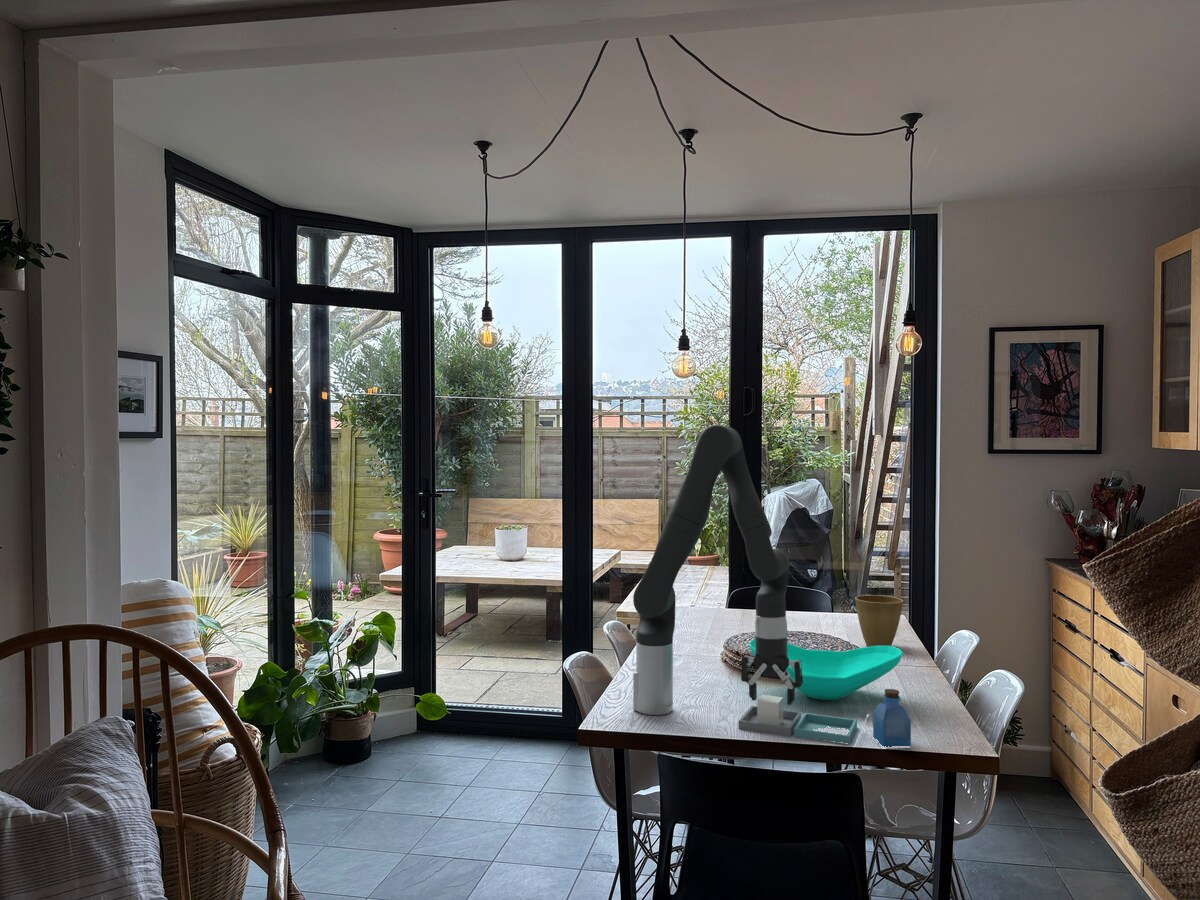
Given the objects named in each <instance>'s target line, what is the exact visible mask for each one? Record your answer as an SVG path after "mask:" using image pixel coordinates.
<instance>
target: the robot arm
mask: <svg viewBox="0 0 1200 900" xmlns="http://www.w3.org/2000/svg"><path fill="white" fill-rule="evenodd" d="M721 473H722V475H723V478H724V480H725V482H726V486H727V488H728V492H729V497H730V502H731V507H732V512H733V515H734V517H735V518H734V519H735V521H736V523H737V525H738V529H739V531H740V533H741V537H742V538H743V541H744V547H745V552H746V556H747V561H748V565H749V568H750V570H751V572H752V574H753V575H754V576H755V578H757V580H760V587H759V590H758V591H757V593H756V595H755V621H754V639H755V656H750V655H749V654H745V655H744V656H743V657H742V658H741V675H740V680H741V681H742V682H744V683H746V684H747V685H748V695H749V698H751V701H756V700H757V698H758V697H757V695H758V691H757V689H758V688H757V686H758V685H757V682H756V681H758V680H759V678H760V677H761V675H762V676H763V677H764V678H769V677H771V678H775V679H778V678H780V680H781V681H782V682H783V683H784V684H785V685H786V686H787V689H786V690H787V695H786V696H787V703H786V704H787V705H788V706H789V705H790V706H792V703H794V702H795V699H796V692H795V689H796V688H797V687H798V688H799V687H801V685H802V684H803V677H802V664H801V660H797V661H789V659H788V655H787V643H788V633H789V632H788V630H789V629H788V622H787V616H786V615H787V614H786V611H787V605H786V603H787V601H786V594H787V589H788V583H789V577H790V564H789V559H788V557H787V555H786V554H785V553H784V551H782V550H781V549H778V548H773V545H772V542H771V536H772V534H773V532H772V528H771V525H770V522H769V521H768V518H767V516H766V513H765V510H764V508H763V506H762V503H761V501H760V498H759V495H758V493H757V491H756V488H755V486H754V483H753V480H752V477H751V474H750V471H749V467H748V463H747V460H746V455H745V451H744V446H743V442H742V438H741V436H740V433H738V430H736V429H734V428H732V427H731V426H727V425H723V424H716V423H715V424H712V425H709V426H707V427H705V428H704V430H702V431H701V433H700V435H699V437H698V439H697V442H696V445H695V448H694V451H693V455H692V459H691V461H690V465H689V468H688V471H687V473H686V476H685V478H684V480H683V482H682V484H681V486H680V488H679V490H678V493H677V495H676V498H675V500H674V502H673V503H672V506H671V508H670V510H669V513H668V514H667V518H666V520H665V522H664V525H663V528H662V531H661V533H660V536H659V538H658V541H657V544H656V546H655V550H654V553H653V555H652V558H651V561H650V562H649V565H648V567H646V569H645V572H644V573H643V576H642V578H641V579H640V580H639V582H638V584H637V586H636V588H635V590H634V592H633V595H632V596H633V597H632V599H633V600H632V601H633V602H632V603H633V606H634V609H635V610H636V612H637V614H638V615H639V621H638V627H637V629H636V634H635V635H636V636H635V637H636V639H635V642H636V646H635V648H636V650H635V651H636V654H635V655H636V656H635V657H636V660H635V661H636V665H635V666H636V668H635V669H636V670H635V671H634V672H633V675H632V676H633V677H632V678H633V683H632V684H633V685H632V686H633V688H632V689H633V692H632V694H633V696H632V697H633V699H632V700H633V701H632V702H633V707H632V710H633V711H636V712H639V713H640V714H644V715H648V716H662V715H667V714H670V713H672V712H673V711H672V710H674V708H673V707H674V699H673V698H674V697H673V696H674V686H673V685H674V677H673V676H674V668H673V667H674V665H673V664H674V645H673V644H674V632H675V629H676V628H675V626H676V592H675V588H674V584H675V581H676V578H677V576H678V574H679V572H680V571H681V569H682V566H683V565H684V563H685V562H686V561H687V559H688V558H689V556H690V555H691V553H692V551H693V550H694V548H695V546H696V545H697V543H698V541H699V539H700V537H701V535H702V533H703V529H705V525H706V524H707V520H708V518H709V516H710V515H709V514H710V510H711V504H712V498H713V497H712V496H713V490H714V487H715V483H716V481H717V478H718V476H719V475H720V474H721ZM752 663H753V664H754V665H755V667H756V671H755V673H754V674H753V675H752V676H750V674H749V673H750V666H751V665H752ZM789 665H790V666H791V667H792V669H793V670H795V681H793V680H792V678H791V677H790V674H789V673H788V672H787V670H786V669H787V667H788V666H789ZM671 711H672V712H671Z"/></svg>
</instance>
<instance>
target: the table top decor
mask: <svg viewBox="0 0 1200 900" xmlns="http://www.w3.org/2000/svg"><path fill="white" fill-rule="evenodd" d="M748 645H749V649H750V651H751V652H750V653H751V654H752V655H753V657H755V638H754V639H751V641H749V642H748ZM787 655H788V659H789V661H797V660H801V664H802V677H803V684H802V685H801V687H799V688H798V687H797V688H795V689H796V690H797V691H799V692H800V693H802V694H803V695H805V696H807V697H808V698H811V699H814V700H815V699H816V700H820V701H821V700H822V701H837V700H841V699H844V698H845V697H846V696H848V695H850V694H852V693H854V692H856V691H858V690H860V689H862V688H864V687H865V686H868V685H869V684H871V683H873V682H875V681H877V680H879V679H880V678H882V677H883V676H885V675H887V674H888V673H889V672H891V671H893V669H894V668H896V666H897V665H898V664H899V663H900V661H901V659H902V657H903V655H904V652H903V651H902V650H901V649H900V648H898V647H894V646H893V645H891V646H871V647H867V646H865V647H859V648H854V649H850V650H845V651H837V650H825V649H823V650H822V649H805V648H802V647H800V646H796V645H794V644H791V643H788V642H787ZM786 670H787V672H788V673H789V674H790V677H791V678H792V680H793V681H795V670H793V669H792V667H791V666H790V665H789V666H788V667H787V669H786Z"/></svg>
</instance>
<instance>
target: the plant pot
mask: <svg viewBox="0 0 1200 900" xmlns="http://www.w3.org/2000/svg"><path fill="white" fill-rule="evenodd" d="M854 600H855V607H856V612H857V618H858V622H859V627H860V631H861V633H862V638H863V640H864V643H865V647H871V646H893V642H894V640H895V637H896V634H897V630H898V627H899V625H900V621H901V620H900V619H901V614H902V611H903V606H904V605H903V604H904V600H903V599H901V598H899V597H895V596H890V595H889V596H888V595H877V594H872V595H871V594H869V595H868V594H865V595H857V596H855V598H854Z"/></svg>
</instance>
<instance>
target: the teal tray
mask: <svg viewBox="0 0 1200 900" xmlns="http://www.w3.org/2000/svg"><path fill="white" fill-rule="evenodd" d="M802 714H803V715H801V719H800V720H799V722H798V723H797V725H796V726H795V728H794V732H793V737H794V738H800V739H806V738H809V739H808V740H813V739H817V740H816V741H820V740H826V741H825V742H827V741H835V742H843V743H848V744H849V743H851V742H850V741H852V740H853V737H854V735H855V733H856V730H857V728H858V719H852V718H848V717H846V718H845V717H838V716H831V715H824V714H818V713H817V714H815V713H811V712H810V713H808V712H804V713H802ZM827 726H829V727H831V728H835V729H836V728H840V729H841V728H845V729H846V730H847V729H848V730H849V732H848V734H847V735H842V734H835V733H828V732H821V731H814V730H813V729H815V730H816V729H817V730H818V728H821V729H822V728H823V729H824V728H826V727H827ZM827 728H828V727H827ZM831 728H830V729H831ZM828 729H829V728H828ZM836 730H837V729H836ZM838 730H839V729H838ZM841 730H842V729H841ZM849 745H850V744H849Z"/></svg>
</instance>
